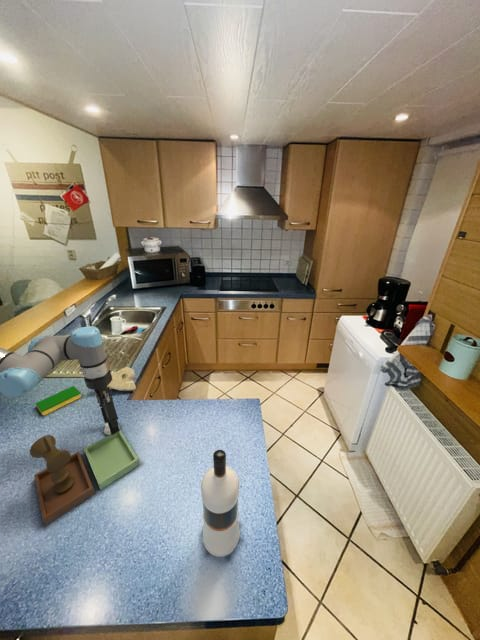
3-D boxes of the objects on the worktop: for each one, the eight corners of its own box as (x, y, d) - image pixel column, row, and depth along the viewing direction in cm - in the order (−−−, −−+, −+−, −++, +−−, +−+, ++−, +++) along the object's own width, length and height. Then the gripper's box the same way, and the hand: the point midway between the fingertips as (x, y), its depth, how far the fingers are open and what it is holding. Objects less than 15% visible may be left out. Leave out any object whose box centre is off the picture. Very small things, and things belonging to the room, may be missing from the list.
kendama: (66, 468, 77) (47, 421, 69) (84, 485, 73) (65, 436, 64) (45, 485, 73) (21, 436, 64) (62, 504, 68) (39, 454, 60)
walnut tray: (36, 480, 74) (33, 474, 73) (80, 456, 82) (78, 451, 81) (45, 525, 64) (42, 519, 63) (95, 493, 71) (93, 487, 70)
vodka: (208, 566, 57) (203, 484, 45) (198, 523, 65) (191, 442, 53) (245, 548, 61) (249, 466, 48) (231, 509, 69) (232, 429, 56)
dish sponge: (81, 397, 107) (80, 392, 106) (43, 416, 97) (41, 411, 96) (74, 389, 111) (73, 385, 110) (37, 407, 101) (35, 402, 100)
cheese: (144, 384, 118) (123, 360, 119) (144, 381, 112) (122, 356, 113) (115, 408, 110) (92, 383, 111) (113, 406, 104) (90, 380, 104)
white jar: (120, 423, 94) (106, 425, 93) (119, 417, 93) (104, 420, 92) (118, 434, 90) (102, 436, 89) (116, 428, 89) (101, 430, 88)
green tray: (85, 454, 83) (83, 448, 82) (121, 434, 90) (120, 429, 89) (100, 490, 72) (98, 484, 71) (139, 464, 80) (138, 459, 79)
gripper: (76, 365, 85) (92, 416, 94) (92, 393, 72) (110, 449, 81) (100, 356, 89) (113, 406, 98) (119, 381, 76) (133, 436, 86)
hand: (112, 426), depth 90 cm, fingers open, 6 cm apart
